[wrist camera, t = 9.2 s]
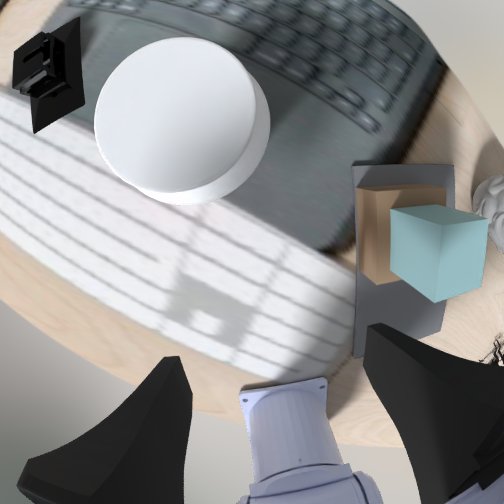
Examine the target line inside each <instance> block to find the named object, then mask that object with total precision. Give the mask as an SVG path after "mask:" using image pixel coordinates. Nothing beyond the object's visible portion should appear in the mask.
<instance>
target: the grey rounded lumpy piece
mask: <svg viewBox="0 0 504 504" xmlns="http://www.w3.org/2000/svg"><path fill="white" fill-rule="evenodd" d="M472 206H473V213H474V215H478V216H481V217H484V218H488V219H489V220H488V234H489V235H490V237H491V239H492V241H493V242H494V244H495V245H496V247H497V249H498V250H499V251H500V252H502V253H504V175H492V176H490V177H489V178H488V179H487V180H485V181H483V182H482V183H481V184H480V185H479V186H478V187H477V189H476V190H475V193H474V196H473V202H472Z"/></svg>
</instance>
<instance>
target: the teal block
mask: <svg viewBox="0 0 504 504" xmlns="http://www.w3.org/2000/svg"><path fill="white" fill-rule="evenodd" d="M390 216H391V253H390V271H392V272H393V273H395V274H396V275H397V276H399V277H400V278H401V279H403V280H404V281H406V282H407V283H408V284H410V285H411V286H412V287H414V288H415V289H416V290H418V291H419V292H420V293H422V294H423V295H424V296H426V297H427V298H428V299H430V300H431V301H432V302H434V303H436V302H439V301H442V300H445V299H448V298H451V297H454V296H457V295H460V294H463V293H465V292H468V291H471V290H474V289H476V288H479V287H481V282H482V276H483V269H484V262H485V255H486V246H487V235H488V220H489V219H488V218H484V217H481V216H478V215H474V214H471V213H467V212H464V211H460V210H456V209H453V208H449V207H445V206H441V205H437V204H435V205H424V206H414V207H404V208H394V209H390Z"/></svg>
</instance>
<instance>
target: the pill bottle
mask: <svg viewBox="0 0 504 504" xmlns="http://www.w3.org/2000/svg"><path fill="white" fill-rule="evenodd" d="M94 129H95V137H96V141H97V145H98V148H99V150H100V153H101V155H102V157H103V158H104V160H105V162H106V163H107V164H108V166H109V167H110V168H111V170H112V171H113V172H114V173H115V174H116V175H117V176H119V177H120V178H121V179H123V180H124V181H125V182H127V183H129V184H131V185H133V186H135V187H136V188H137V189H139V190H140V191H141V192H143V193H144V194H146V195H147V196H149V197H151V198H154V199H156V200H158V201H161V202H165V203H169V204H174V205H197V204H203V203H207V202H211V201H214V200H216V199H219V198H221V197H223V196H225V195H227V194H229V193H231V192H232V191H234V190H235V189H236V188H238V187H239V186H240V185H241V184H243V183H244V182H245V181H246V180H247V179H248V178H249V177H250V175H251V174H252V173H253V172H254V170H255V169H256V168H257V166H258V164H259V163H260V161H261V159H262V157H263V155H264V152H265V150H266V147H267V144H268V140H269V134H270V112H269V107H268V103H267V100H266V97H265V95H264V93H263V91H262V89H261V87H260V85H259V84H258V82H257V81H256V80H255V79H254V77H253V76H252V75H251V74H250V73H249V72H248V71H247V70H246V69H245V67H244V66H243V65H242V63H241V62H240V61H239V60H238V59H237V58H236V57H235V56H234V55H233V54H232V53H230V52H229V51H228V50H226V49H224V48H222V47H221V46H219V45H217V44H215V43H213V42H210V41H207V40H203V39H198V38H190V37H177V38H169V39H164V40H160V41H157V42H154V43H151V44H149V45H147V46H145V47H143V48H141V49H139V50H137V51H136V52H134V53H133V54H131V55H130V56H128V57H127V58H126V59H125V60H124V61H123V62H122V63H120V65H119V66H118V67H117V68H116V69H115V70H114V71H113V73H112V74H111V75H110V76H109V78H108V80H107V81H106V83H105V85H104V87H103V89H102V91H101V93H100V96H99V98H98V102H97V105H96V110H95V119H94Z"/></svg>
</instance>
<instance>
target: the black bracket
mask: <svg viewBox="0 0 504 504" xmlns="http://www.w3.org/2000/svg"><path fill="white" fill-rule="evenodd" d="M12 88H13V89H16V90H20V94H23V95H26V96H30V100H31V115H32V125H33V133H34V134H35V133H37V132H38V131H40V130H41V129H43V128H45V127H46V126H48V125H50V124H51V123H53V122H55V121H56V120H58V119H60V118H61V117H63V116H65V115H67V114H68V113H70V112H72V111H74V110H76V109H78V108H80V107H82V106H83V105H84V104H85V97H84V88H83V78H82V65H81V46H80V17H77V18H75V19H74V20H72V21H70V22H68V23H66V24H65V25H63V26H61V27H60V28H58V29H56V30H55V31H53V32H51V33H46V34H45V33H44V32H42V31H41V32H40V33H38V34H37V35H36V36H34V37H33V38H31V39H30V40H29V41H27V42H26V43H24V44H23V45H22V46H21V47H19V48H18V49H17V50H15V51H14V59H13V80H12Z"/></svg>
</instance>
